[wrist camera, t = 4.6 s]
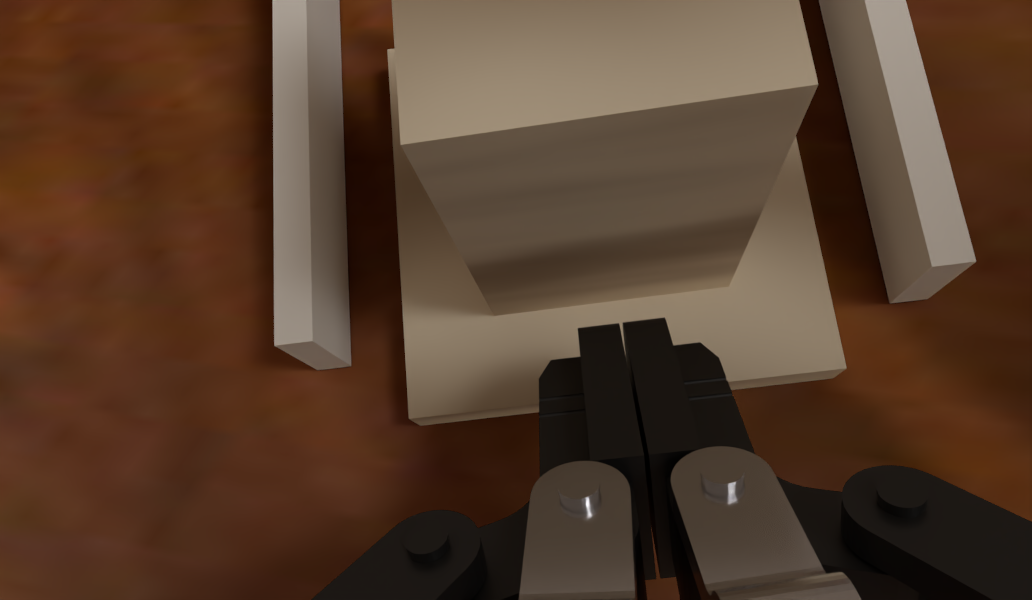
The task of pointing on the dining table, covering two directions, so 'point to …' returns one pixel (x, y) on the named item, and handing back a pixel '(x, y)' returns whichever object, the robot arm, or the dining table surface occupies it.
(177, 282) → the dining table surface
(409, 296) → the pawn block
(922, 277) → the ladder rail frame
